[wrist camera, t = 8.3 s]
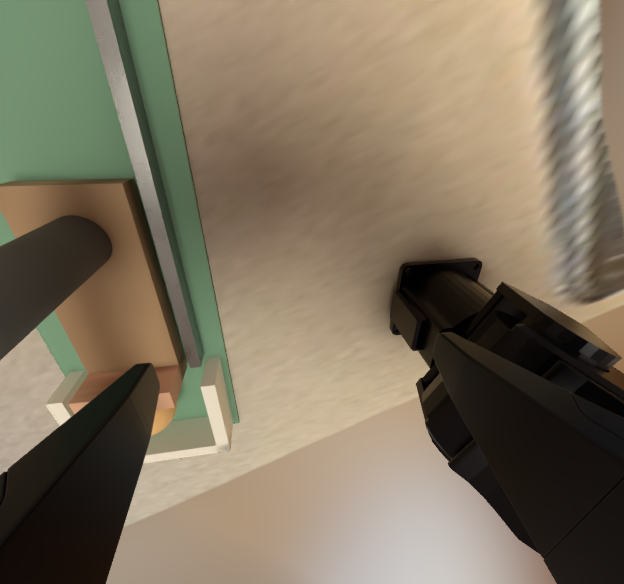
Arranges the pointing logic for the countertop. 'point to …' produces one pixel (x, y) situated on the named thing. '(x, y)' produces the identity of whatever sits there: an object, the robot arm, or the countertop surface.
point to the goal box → (178, 434)
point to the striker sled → (88, 280)
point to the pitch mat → (101, 145)
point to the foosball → (163, 419)
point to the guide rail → (145, 164)
